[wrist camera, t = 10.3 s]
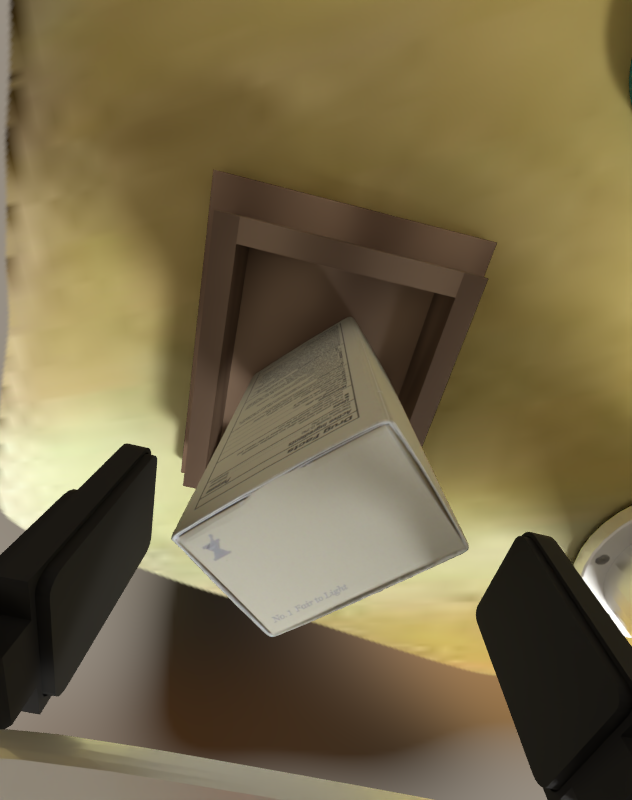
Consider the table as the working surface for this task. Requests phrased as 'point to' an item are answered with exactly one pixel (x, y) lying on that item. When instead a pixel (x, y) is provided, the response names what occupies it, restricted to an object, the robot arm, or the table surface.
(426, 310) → the holder
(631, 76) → the bracket
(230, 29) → the table surface
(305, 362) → the skincare box
